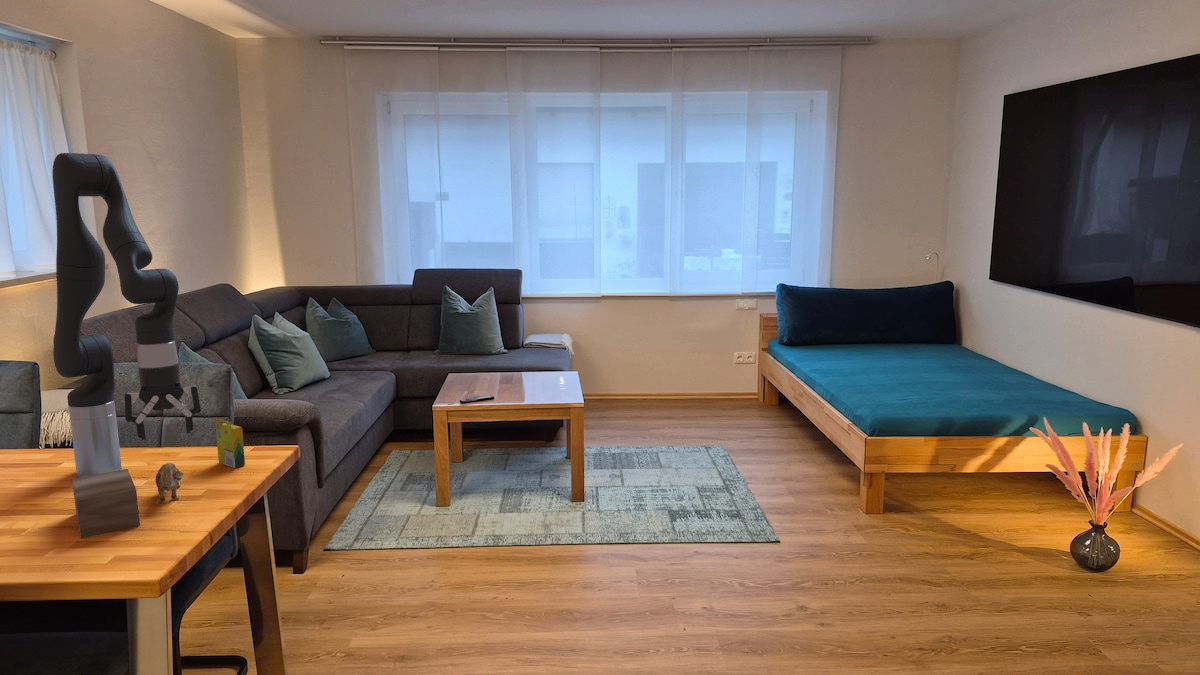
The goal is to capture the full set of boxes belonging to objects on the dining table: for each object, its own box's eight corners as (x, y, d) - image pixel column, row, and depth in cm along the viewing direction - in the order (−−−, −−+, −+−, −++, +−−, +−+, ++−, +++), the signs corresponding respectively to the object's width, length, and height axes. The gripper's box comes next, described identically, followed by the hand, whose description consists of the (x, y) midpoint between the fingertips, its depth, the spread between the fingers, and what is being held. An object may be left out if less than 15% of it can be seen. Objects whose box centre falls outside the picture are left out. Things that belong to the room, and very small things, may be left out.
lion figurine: (187, 504, 171) (183, 464, 170) (159, 509, 168) (155, 468, 167) (179, 483, 183) (175, 446, 182) (153, 488, 180) (149, 450, 179)
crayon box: (245, 465, 195) (242, 419, 193) (234, 468, 193) (230, 422, 191) (229, 459, 200) (225, 414, 198) (218, 462, 197) (214, 417, 195)
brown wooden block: (76, 514, 166) (71, 478, 164) (131, 504, 172) (127, 468, 170) (81, 539, 154) (76, 500, 152) (140, 527, 160) (136, 489, 158)
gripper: (194, 356, 176) (201, 426, 179) (119, 363, 169) (128, 436, 172) (196, 362, 170) (204, 435, 173) (119, 369, 163) (128, 445, 166)
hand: (166, 435), depth 172 cm, fingers open, 8 cm apart
